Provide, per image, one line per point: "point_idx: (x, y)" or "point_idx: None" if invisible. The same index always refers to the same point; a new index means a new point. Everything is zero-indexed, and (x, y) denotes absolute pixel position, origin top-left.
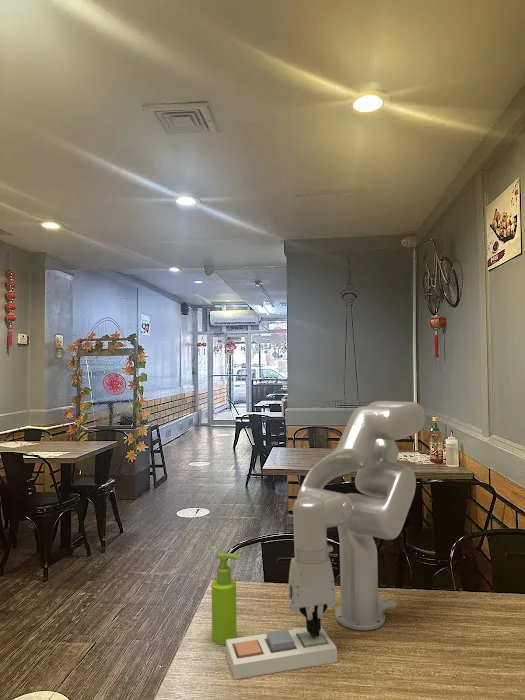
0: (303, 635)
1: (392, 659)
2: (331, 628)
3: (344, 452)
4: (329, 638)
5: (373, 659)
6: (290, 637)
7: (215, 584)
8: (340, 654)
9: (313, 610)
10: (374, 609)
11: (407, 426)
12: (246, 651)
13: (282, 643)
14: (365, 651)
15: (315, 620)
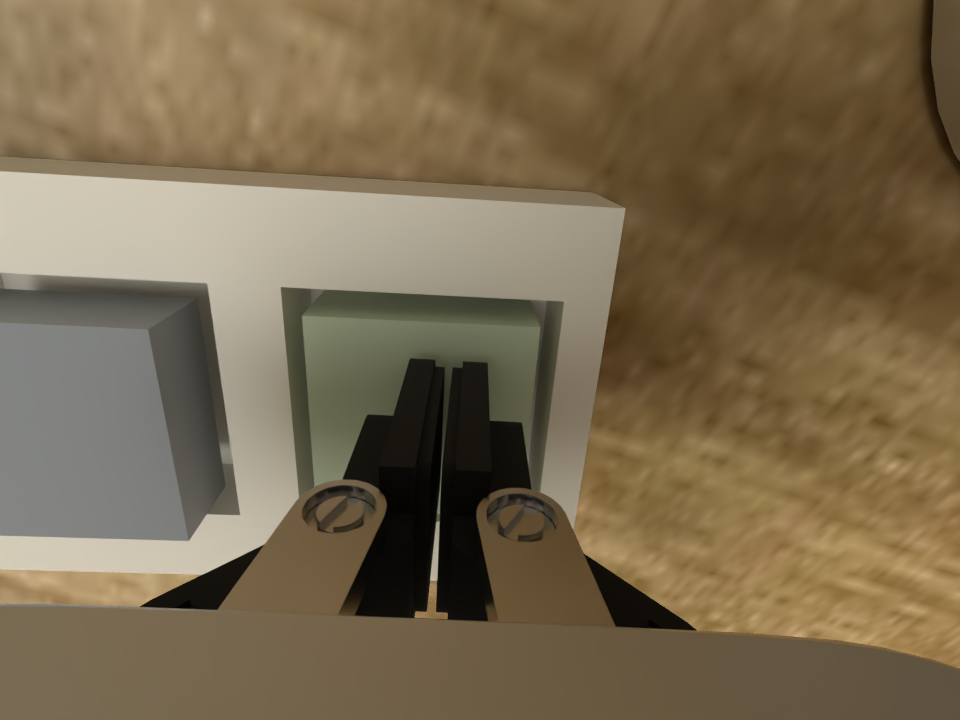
0: (347, 374)
1: (881, 577)
2: (792, 44)
3: None
4: (580, 460)
5: (779, 548)
6: (158, 479)
7: None
8: (617, 447)
9: (477, 514)
10: None
11: None
12: None
13: (64, 535)
14: (799, 466)
15: (436, 603)
